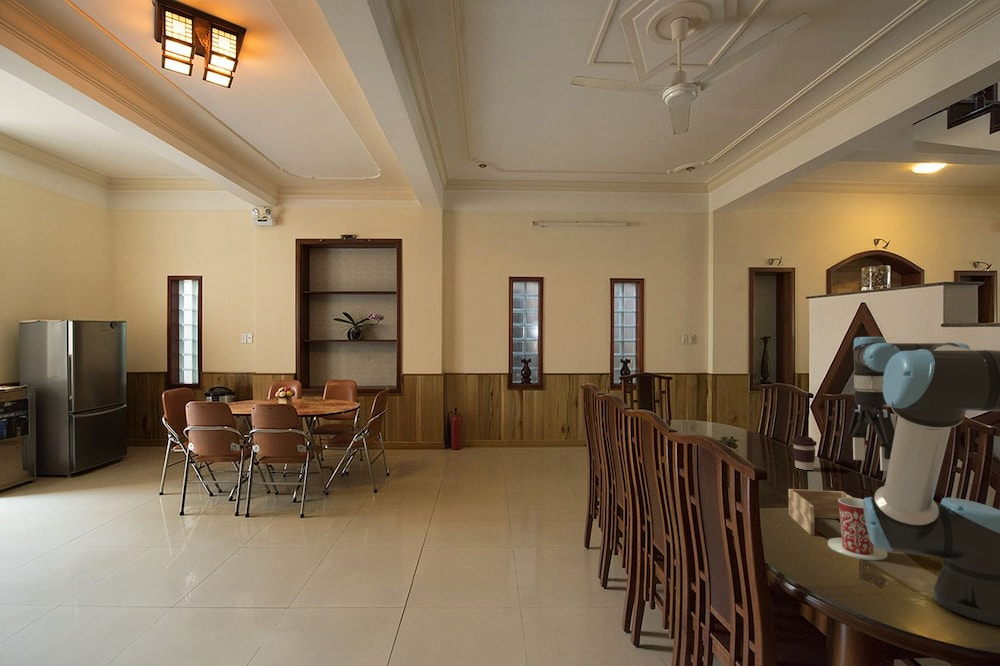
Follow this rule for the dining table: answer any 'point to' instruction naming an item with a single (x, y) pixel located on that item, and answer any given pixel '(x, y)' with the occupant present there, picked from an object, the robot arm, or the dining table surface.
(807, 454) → the coffee cup
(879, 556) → the disc
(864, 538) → the mug
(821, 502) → the crate
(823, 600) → the dining table surface
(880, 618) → the dining table surface
